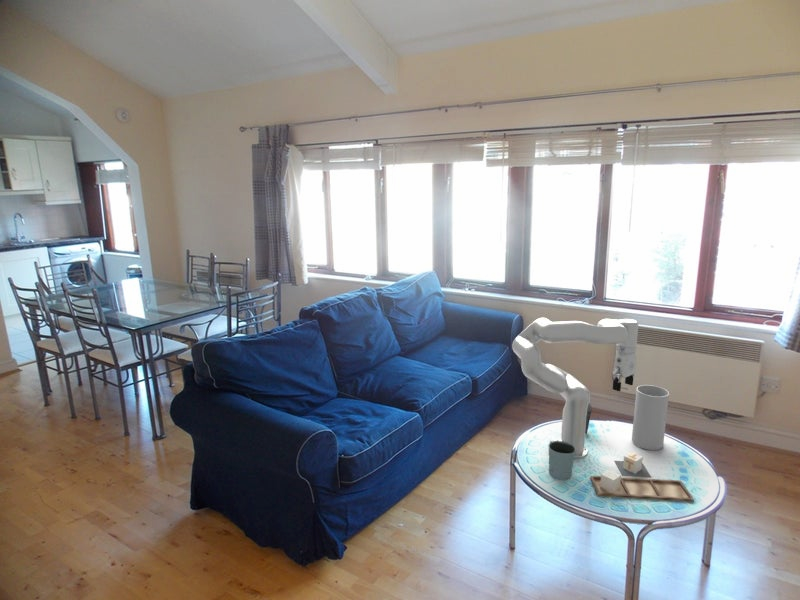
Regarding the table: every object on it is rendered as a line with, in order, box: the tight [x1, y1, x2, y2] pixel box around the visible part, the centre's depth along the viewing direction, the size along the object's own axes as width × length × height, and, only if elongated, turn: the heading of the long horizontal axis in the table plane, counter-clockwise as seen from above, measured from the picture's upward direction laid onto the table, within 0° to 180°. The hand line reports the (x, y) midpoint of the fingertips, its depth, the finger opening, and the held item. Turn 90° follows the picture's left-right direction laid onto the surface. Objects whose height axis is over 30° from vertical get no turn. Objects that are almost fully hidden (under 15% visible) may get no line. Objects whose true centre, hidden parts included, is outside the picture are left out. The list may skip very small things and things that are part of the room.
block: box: [600, 469, 622, 493], centre depth 188 cm, size 5×5×6 cm
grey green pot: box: [548, 440, 576, 481], centre depth 197 cm, size 10×10×12 cm
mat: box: [613, 460, 653, 479], centre depth 201 cm, size 11×11×1 cm
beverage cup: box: [585, 402, 593, 435], centre depth 229 cm, size 7×7×20 cm
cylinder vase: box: [631, 384, 670, 451], centre depth 217 cm, size 12×12×25 cm
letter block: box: [623, 451, 644, 474], centre depth 200 cm, size 5×5×6 cm
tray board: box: [589, 475, 695, 503], centre depth 187 cm, size 33×12×1 cm, turn 82°
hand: (622, 387), depth 210 cm, fingers open, 9 cm apart
